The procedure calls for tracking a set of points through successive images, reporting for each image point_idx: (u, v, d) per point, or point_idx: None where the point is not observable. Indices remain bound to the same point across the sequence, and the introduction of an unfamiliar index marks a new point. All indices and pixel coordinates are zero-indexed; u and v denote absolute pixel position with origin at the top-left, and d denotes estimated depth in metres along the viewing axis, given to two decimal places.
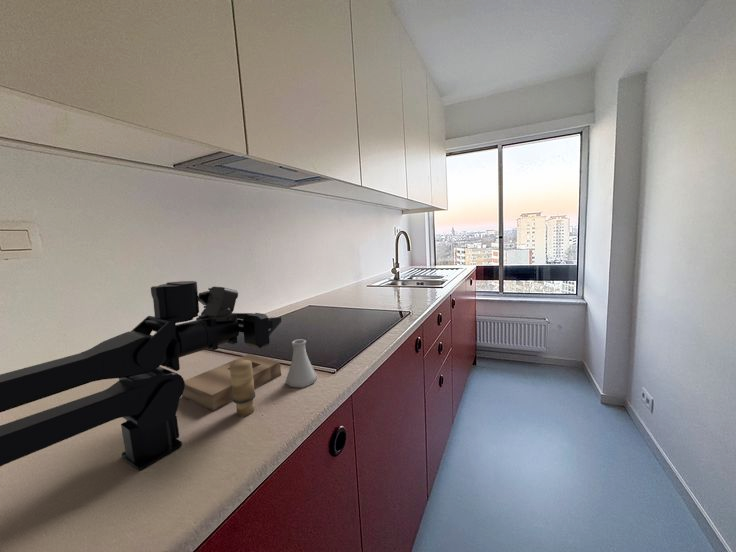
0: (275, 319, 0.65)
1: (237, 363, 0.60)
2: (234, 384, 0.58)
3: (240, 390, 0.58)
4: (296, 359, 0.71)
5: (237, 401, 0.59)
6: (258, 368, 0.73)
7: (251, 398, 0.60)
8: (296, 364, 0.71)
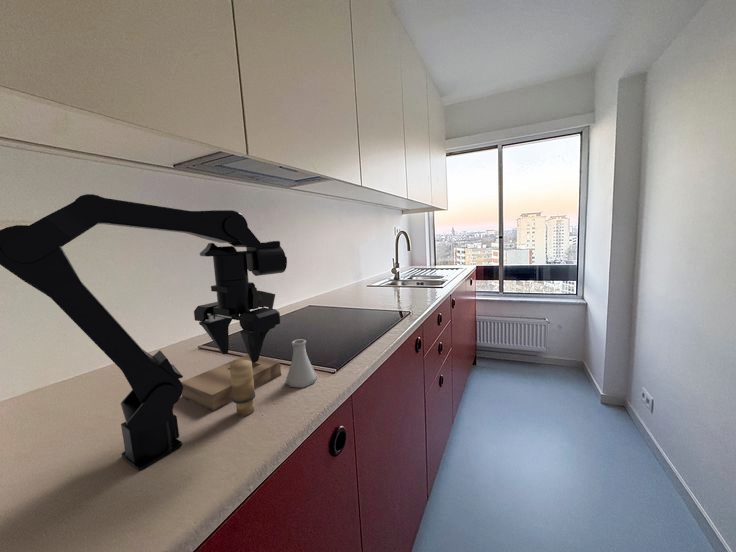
0: (259, 350, 0.57)
1: (237, 363, 0.60)
2: (234, 384, 0.58)
3: (240, 390, 0.58)
4: (296, 359, 0.71)
5: (237, 401, 0.59)
6: (258, 368, 0.73)
7: (251, 398, 0.60)
8: (296, 364, 0.71)
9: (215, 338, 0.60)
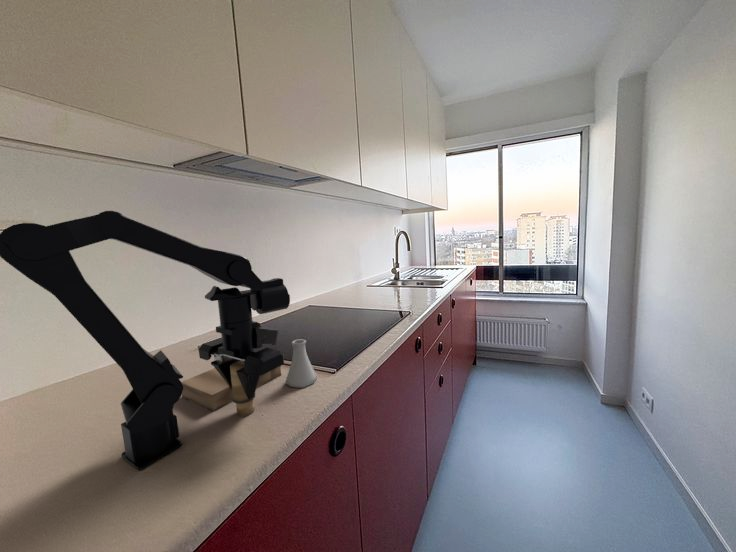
0: (255, 386, 0.59)
1: (237, 363, 0.60)
2: (234, 384, 0.58)
3: (240, 390, 0.58)
4: (296, 359, 0.71)
5: (237, 401, 0.59)
6: None
7: (251, 398, 0.60)
8: (296, 364, 0.71)
9: (227, 378, 0.60)
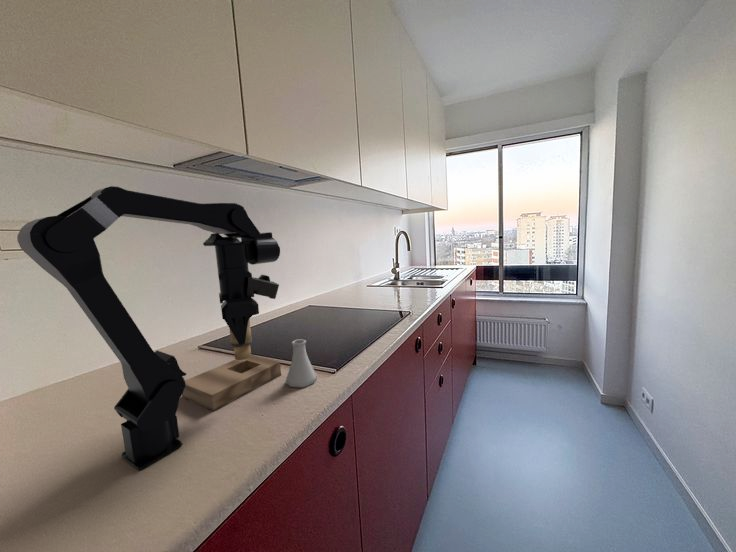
0: (244, 334, 0.61)
1: None
2: (229, 328, 0.62)
3: (232, 334, 0.62)
4: (296, 359, 0.71)
5: (231, 344, 0.63)
6: (258, 368, 0.73)
7: (243, 344, 0.62)
8: (296, 364, 0.71)
9: None
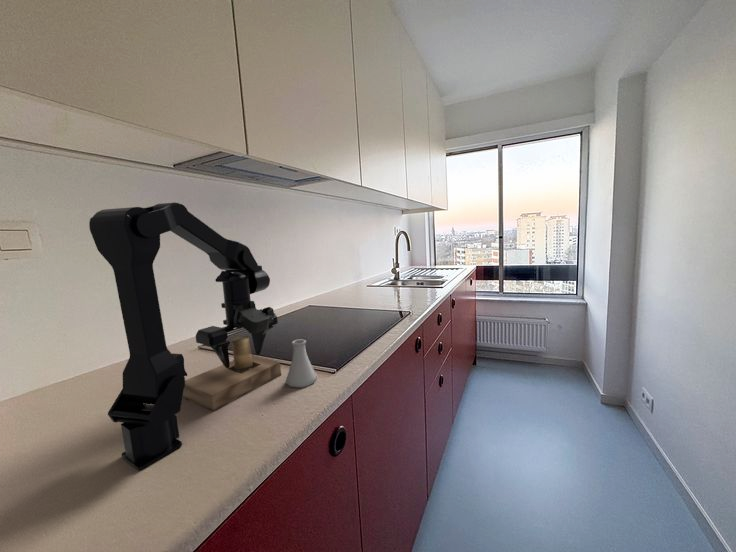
0: (224, 360, 0.69)
1: (243, 337, 0.74)
2: None
3: None
4: (296, 359, 0.71)
5: None
6: (258, 368, 0.73)
7: (236, 368, 0.73)
8: (296, 364, 0.71)
9: (253, 339, 0.78)
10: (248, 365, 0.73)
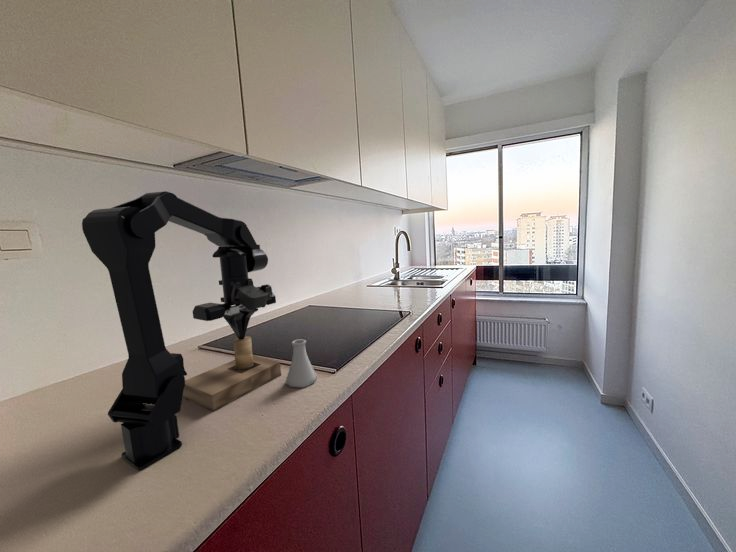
0: (238, 331, 0.72)
1: (245, 337, 0.74)
2: None
3: None
4: (296, 359, 0.71)
5: None
6: (258, 368, 0.73)
7: (237, 368, 0.73)
8: (296, 364, 0.71)
9: None
10: (249, 365, 0.73)
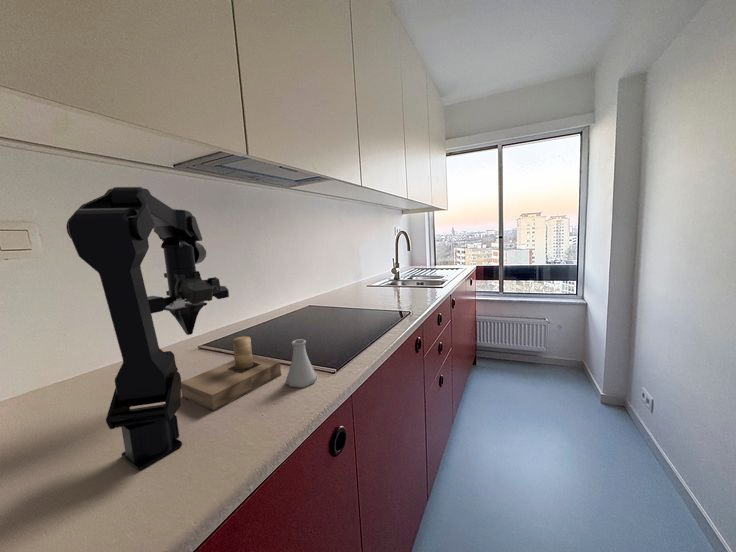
0: (184, 326, 0.69)
1: (244, 337, 0.74)
2: None
3: None
4: (296, 359, 0.71)
5: None
6: (258, 368, 0.73)
7: (237, 368, 0.73)
8: (296, 364, 0.71)
9: None
10: (248, 365, 0.73)
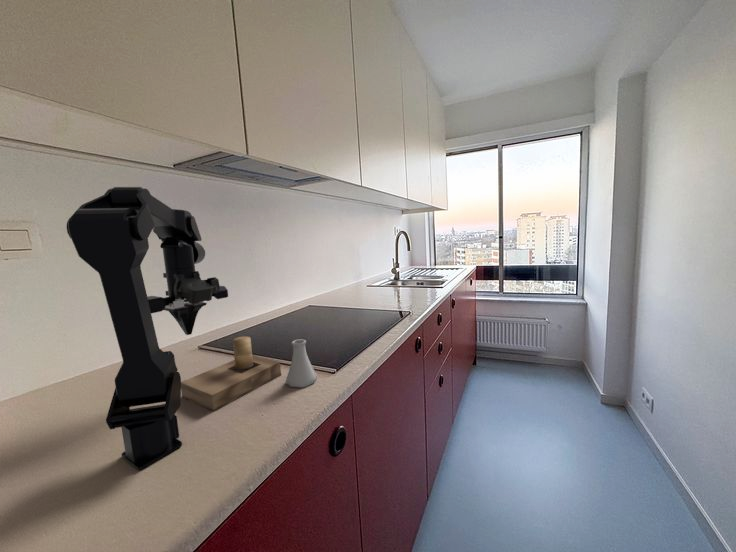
0: (184, 326, 0.69)
1: (244, 337, 0.74)
2: None
3: None
4: (296, 359, 0.71)
5: None
6: (258, 368, 0.73)
7: (237, 368, 0.73)
8: (296, 364, 0.71)
9: None
10: (249, 365, 0.73)
